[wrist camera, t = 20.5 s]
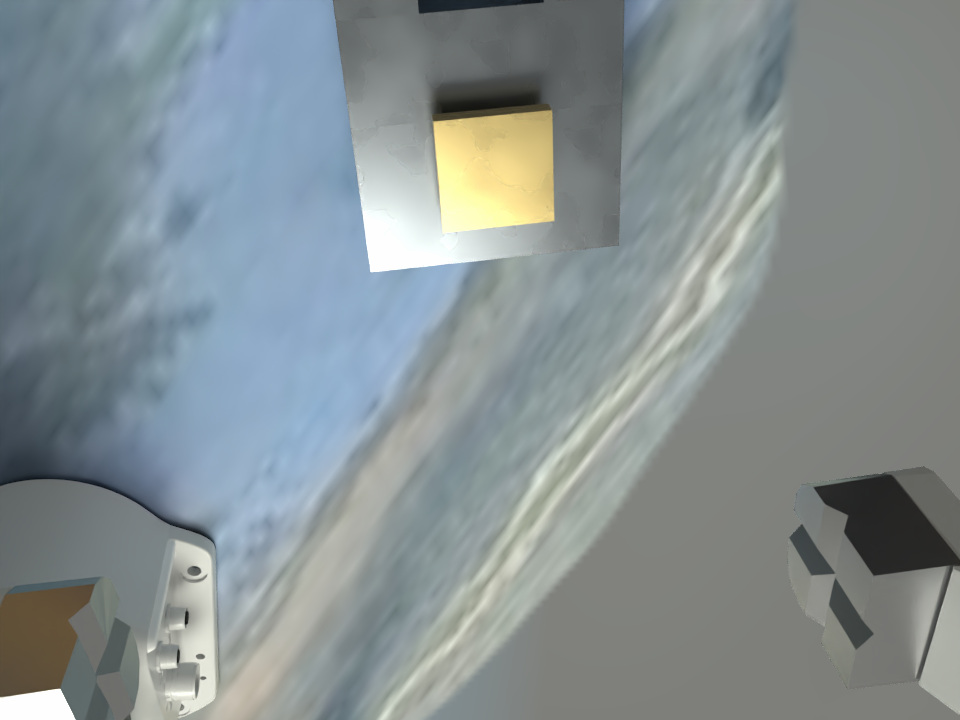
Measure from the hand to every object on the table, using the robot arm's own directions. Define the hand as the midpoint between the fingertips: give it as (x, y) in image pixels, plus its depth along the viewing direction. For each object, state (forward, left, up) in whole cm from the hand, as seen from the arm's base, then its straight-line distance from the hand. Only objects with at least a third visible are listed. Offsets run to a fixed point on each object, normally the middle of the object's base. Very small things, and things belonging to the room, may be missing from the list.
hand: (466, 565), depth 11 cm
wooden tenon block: (-6, -4, -37) cm, 37 cm away
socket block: (-1, -4, -37) cm, 37 cm away
